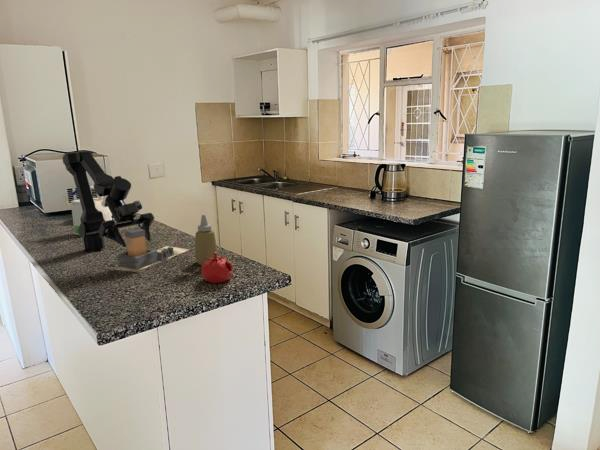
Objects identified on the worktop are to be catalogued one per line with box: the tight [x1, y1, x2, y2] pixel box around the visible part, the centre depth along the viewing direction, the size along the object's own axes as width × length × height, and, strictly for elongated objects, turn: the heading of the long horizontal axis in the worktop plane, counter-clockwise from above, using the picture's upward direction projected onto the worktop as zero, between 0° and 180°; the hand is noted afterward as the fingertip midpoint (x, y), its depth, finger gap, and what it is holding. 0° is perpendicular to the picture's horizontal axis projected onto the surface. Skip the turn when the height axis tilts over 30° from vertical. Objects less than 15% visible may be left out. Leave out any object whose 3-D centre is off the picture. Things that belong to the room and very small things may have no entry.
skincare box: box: [70, 198, 95, 236], centre depth 205 cm, size 8×7×16 cm
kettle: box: [70, 185, 112, 221], centre depth 233 cm, size 20×21×18 cm
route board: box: [114, 245, 191, 274], centre depth 165 cm, size 26×12×5 cm, turn 154°
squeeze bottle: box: [194, 214, 219, 268], centre depth 157 cm, size 8×8×18 cm
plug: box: [124, 227, 147, 257], centre depth 158 cm, size 5×5×12 cm
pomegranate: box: [200, 252, 234, 284], centre depth 143 cm, size 10×10×9 cm
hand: (137, 243), depth 156 cm, fingers open, 9 cm apart
